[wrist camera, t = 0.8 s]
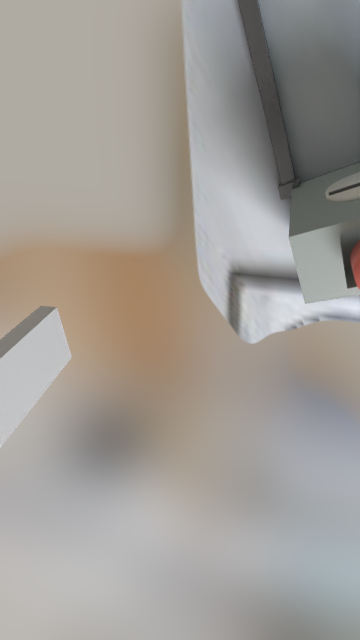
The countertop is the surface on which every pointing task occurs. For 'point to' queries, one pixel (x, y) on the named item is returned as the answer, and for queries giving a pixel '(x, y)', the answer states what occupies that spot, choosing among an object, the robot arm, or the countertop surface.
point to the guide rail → (268, 94)
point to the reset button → (356, 263)
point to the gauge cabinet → (326, 233)
